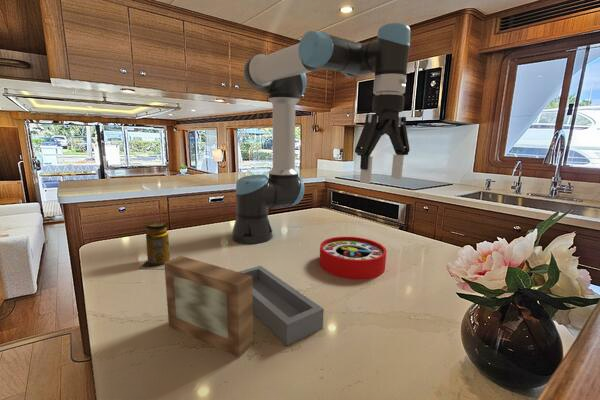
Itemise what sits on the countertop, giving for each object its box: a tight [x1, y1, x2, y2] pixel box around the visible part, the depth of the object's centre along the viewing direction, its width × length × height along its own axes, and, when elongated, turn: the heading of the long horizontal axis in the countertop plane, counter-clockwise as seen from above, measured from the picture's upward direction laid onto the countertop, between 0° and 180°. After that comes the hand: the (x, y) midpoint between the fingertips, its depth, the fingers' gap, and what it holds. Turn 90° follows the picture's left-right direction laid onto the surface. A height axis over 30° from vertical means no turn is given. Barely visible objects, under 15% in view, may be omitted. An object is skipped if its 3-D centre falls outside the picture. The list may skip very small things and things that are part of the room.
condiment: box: [138, 221, 176, 270], centre depth 90 cm, size 7×8×12 cm
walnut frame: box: [164, 255, 254, 358], centre depth 58 cm, size 18×4×14 cm, turn 63°
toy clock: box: [318, 236, 387, 281], centre depth 93 cm, size 20×6×20 cm
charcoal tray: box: [238, 265, 325, 347], centre depth 69 cm, size 25×9×4 cm, turn 38°
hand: (381, 180), depth 79 cm, fingers open, 13 cm apart
